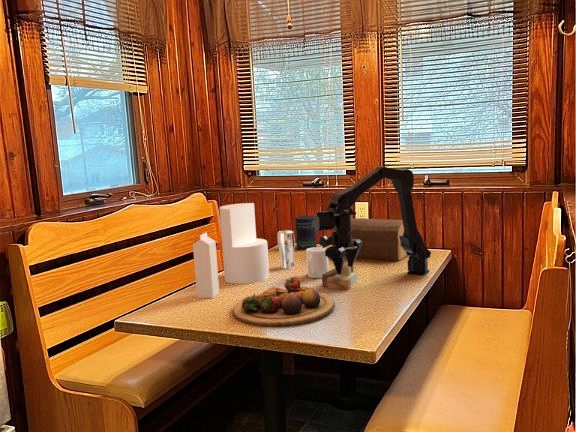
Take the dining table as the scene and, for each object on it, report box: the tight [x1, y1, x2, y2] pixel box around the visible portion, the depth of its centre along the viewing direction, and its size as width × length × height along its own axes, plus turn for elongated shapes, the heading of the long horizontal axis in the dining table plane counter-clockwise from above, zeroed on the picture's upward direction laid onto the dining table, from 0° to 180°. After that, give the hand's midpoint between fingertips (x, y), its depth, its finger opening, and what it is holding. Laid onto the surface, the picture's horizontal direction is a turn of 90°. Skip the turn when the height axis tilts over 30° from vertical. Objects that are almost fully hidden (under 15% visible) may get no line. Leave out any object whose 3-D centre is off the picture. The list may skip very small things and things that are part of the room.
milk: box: [192, 231, 220, 299], centre depth 196 cm, size 6×6×22 cm
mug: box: [305, 246, 330, 279], centre depth 214 cm, size 12×8×10 cm
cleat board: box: [321, 261, 355, 291], centre depth 206 cm, size 10×22×4 cm, turn 149°
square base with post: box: [333, 266, 358, 287], centre depth 202 cm, size 6×7×6 cm
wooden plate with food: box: [232, 275, 336, 328], centre depth 176 cm, size 32×32×8 cm
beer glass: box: [277, 229, 296, 270], centre depth 230 cm, size 7×7×15 cm
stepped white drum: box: [219, 202, 270, 285], centre depth 217 cm, size 17×17×28 cm
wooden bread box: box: [332, 217, 409, 262], centre depth 245 cm, size 18×30×16 cm, turn 58°
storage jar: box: [294, 215, 318, 251], centre depth 266 cm, size 10×10×15 cm
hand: (344, 271), depth 201 cm, fingers open, 9 cm apart
